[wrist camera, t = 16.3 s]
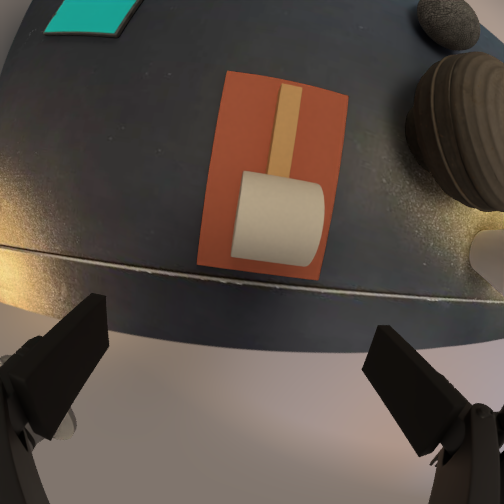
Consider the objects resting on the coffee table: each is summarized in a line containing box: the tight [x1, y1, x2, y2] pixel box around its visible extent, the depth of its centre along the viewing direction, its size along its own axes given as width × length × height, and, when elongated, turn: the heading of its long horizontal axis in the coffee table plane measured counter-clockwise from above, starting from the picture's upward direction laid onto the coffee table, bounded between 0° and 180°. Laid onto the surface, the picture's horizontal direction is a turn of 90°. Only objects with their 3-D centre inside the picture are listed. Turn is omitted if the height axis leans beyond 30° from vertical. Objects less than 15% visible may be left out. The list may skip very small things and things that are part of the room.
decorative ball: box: [417, 0, 480, 51], centre depth 20 cm, size 10×10×10 cm
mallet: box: [231, 83, 325, 267], centre depth 25 cm, size 18×7×8 cm, turn 171°
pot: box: [405, 52, 504, 212], centre depth 20 cm, size 18×18×20 cm
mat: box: [197, 71, 349, 280], centre depth 29 cm, size 22×14×1 cm, turn 171°
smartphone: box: [43, 0, 143, 38], centre depth 22 cm, size 7×1×15 cm
